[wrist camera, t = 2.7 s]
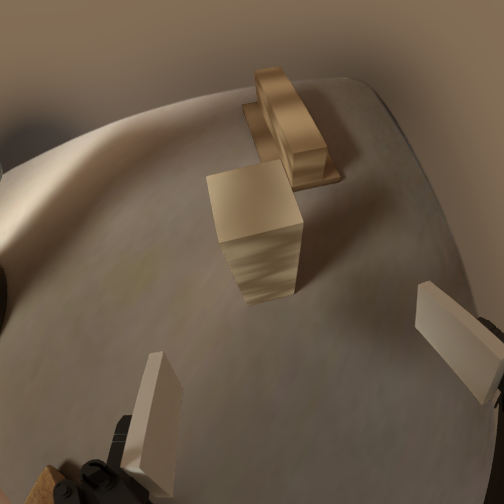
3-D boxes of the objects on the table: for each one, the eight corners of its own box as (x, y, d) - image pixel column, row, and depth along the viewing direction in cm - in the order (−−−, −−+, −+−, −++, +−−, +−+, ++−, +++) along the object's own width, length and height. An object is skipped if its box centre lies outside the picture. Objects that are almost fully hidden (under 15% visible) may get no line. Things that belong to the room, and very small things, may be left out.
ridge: (339, 182, 33) (348, 143, 27) (272, 196, 33) (269, 158, 27) (296, 100, 39) (296, 64, 33) (242, 109, 39) (237, 73, 33)
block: (247, 306, 28) (218, 243, 15) (237, 263, 30) (206, 176, 17) (293, 294, 28) (303, 222, 15) (281, 252, 30) (280, 159, 17)
